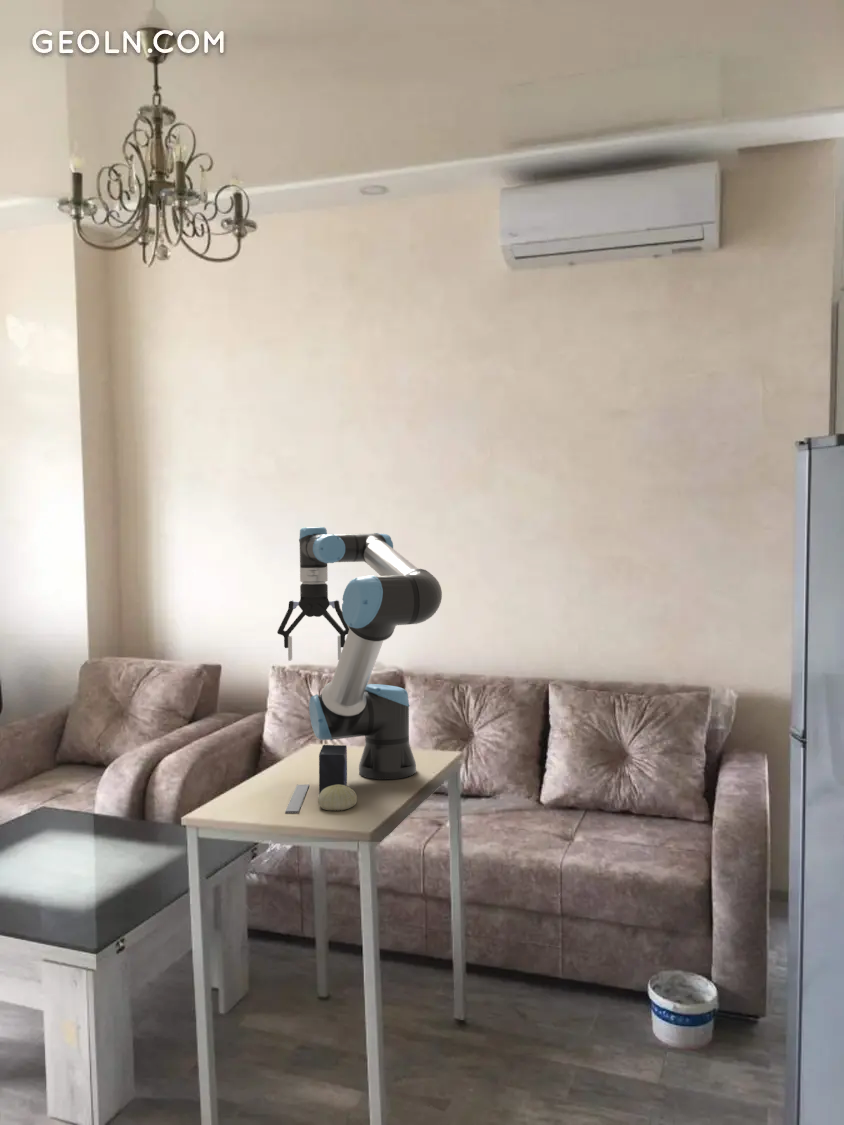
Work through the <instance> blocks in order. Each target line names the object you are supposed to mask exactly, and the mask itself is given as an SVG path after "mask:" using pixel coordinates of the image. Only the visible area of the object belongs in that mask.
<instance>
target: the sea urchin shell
mask: <svg viewBox="0 0 844 1125" xmlns="http://www.w3.org/2000/svg"><path fill="white" fill-rule="evenodd" d="M357 802H358V796H357V793H356V792H355V791H354V789H352V788H351V787H349V786H348V785H347V786H345V785H339V784H338V785H332V786H328V787H326V788H325V789H323V790H322V791H321V793H320V794H319V793H318V797H317V803H318V806H319V807H320V808H321V809H323V810H326V811H336V810H337V811H340V810H341V811H346V810H349V809H351V808H353V807H354V806H356V803H357ZM337 811H336V812H337Z"/></svg>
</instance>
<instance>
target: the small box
mask: <svg viewBox="0 0 844 1125" xmlns="http://www.w3.org/2000/svg"><path fill="white" fill-rule="evenodd" d="M318 768H319V769H318V795H319V794H320V793H321V791H322V790H323V789H325V788H326V787H328V786H332V785H338V784H339V785H345V786H347V787H348V749H347V745H346V744H345V745H340V744H337V745H335V744H323V745H322V747H321V749H320V751H319V754H318Z"/></svg>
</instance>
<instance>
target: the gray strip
mask: <svg viewBox="0 0 844 1125" xmlns="http://www.w3.org/2000/svg"><path fill="white" fill-rule="evenodd" d="M309 788H310V784H307V783H305V784H296V786H295V789H294V791H293V793H292V795H291V797H290V799H289V801H288V804H287V806H286V809H285V811H284V812H285V814H299V813H300V810H301V809H302V806H301V805H303V803H304V801H303V800H305V798H306V796H307V793H308V791H309ZM306 792H307V793H306Z"/></svg>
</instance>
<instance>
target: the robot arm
mask: <svg viewBox="0 0 844 1125" xmlns="http://www.w3.org/2000/svg"><path fill="white" fill-rule="evenodd" d="M298 541H299V575H300V576H299V582H301V584H300V585H299V587H300V589H299V591H300V592H299V594H300V596H299V597H300V598H299V599H300V600H299V601H297V600H296V601H295V600H293V599H291V600H290V601H289V602H288V609H287V610H286V613H285V615H284V617H283V619H282V621H281V624H280V625H279V627H278V629H277V634H278V635H280V636H282V637H283V642H284V643H283V644H284V645H283V647H284V649H287V650H288V652H287V653H288V654H287V657H288V658H287V659H288V662H289V661H292V660H293V636H292V635H290V634H291V633H292V632H293V631H294V629H295V628H296V627H297V625H299V624H300V622H301V621H302V620H303V618H304V617H305V616H306V617H308V618H312V617H316V618H317V617H318V618H319V617H322V616H323V617H324V618H325V619H326V620H327V621H328V623H329V624H330V625H331V626H332V627H333V628H334V629H335V630H336V632H337V634H339V635H337V661H338V662H337V665H336V668H335V671H334V674H333V678H332V680H331V681H330V682H328V683H326V684H325V685H324V687H323V689H322V691H321V694H318V693H317V694H314V695H312V696H310V699H309V702H308V711H309V718H310V723H311V724H310V725H311V727H312V731H313V733H314V735H315V737H316V739H318V740H320V741H333V740H340V739H349V738H351V739H352V738H358V737H359V738H360V737H365V738H364V739H365V742H364V744H365V745H364V748H363V751H362V754H361V758H360V761H359V764H358V773H359V775H360V776H361V777H364V778H367V779H373V780H398V779H404V778H409V777H412V776H414V775H415V774H416V773H417V763H416V759H415V757H414V754H413V751H412V749H411V748H412V747H411V745H410V702H409V693H408V691H407V690H406V689H405V688H402V687H400V686H395V685H388V684H377V683H376V684H375V683H369V680H370V678H371V675H372V672H373V671H374V668H375V664H376V662H377V659H378V656H379V653H380V652H381V648H382V645H383V643H384V641H386V640H389V639H390V638H391V637H392V636H393V634H394V632H395V629H396V626H406V625H418V624H422V623H423V622H426V621H427V620H429V619H431V618H432V617H433V616H434V615H435V614H436V612H438V610H439V608H440V606H441V603H442V597H443V592H442V587H441V584H440V582H439V581H438V579H437V578H436V577H435V576H434V575H433V574H432V573H431V572H429V571H428V570H426V569H423V568H419V567H416V566H415V565H414V564H413V563H412V562H410V561H409V560H408V559H407V558H405V557H404V556H403V555H402V554H400V553H399V552H398V551H397V550H396V549H394V543H393V540H392V537H391V536H390V535H389V534H386V533H379V532H374V533H328V531H327V528H326V527H325V526H317V527H316V526H305V527H304V526H303V527H301V528H300V530H299V539H298ZM357 562H358V563H360V562H361V563H363V562H364V563H365V564H367V565H368V566H369V567H370V568H371V569H373V571H374V572H376V574H378V575H376V576H375V575H372V574H371V575H370V574H369V575H365V576H357V577H354V578H353V579H351V580H350V581H349V582H348V583H347V585H346V587H345V588H344V591H343V595H342V598H341V599H342V604H341V606H340V600H339V599H336V600H329V597H328V596H329V595H328V594H329V593H328V591H329V590H328V588H329V587H328V584H327V581H328V578H329V577H328V564H334V563H357ZM330 606H331V607H332V609H334V610H335V612H336V614H337V616H338V618H339V620H340V622H341V623H342V626H343V627H344V629H343V628H342V626H340V625H339V623H338V622H337V621H336V620H335V619H334V618H333V616H331V614H330V612H329V611H328V608H329V607H330ZM297 607H299V608H300V609H301V612H300V614H299V615H298V616H297V617H296V619H295V620H294V621H293V622H292V624H290V626H289V627H288V628H287V629H286V630H285V628H286V625H287V623H288V622H289V620H290V617H291V616H292V614H293V612H294V610H295V609H296V608H297ZM368 683H369V684H368ZM414 773H415V774H414ZM413 774H414V775H413ZM411 775H412V776H411ZM408 776H409V777H408Z"/></svg>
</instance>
